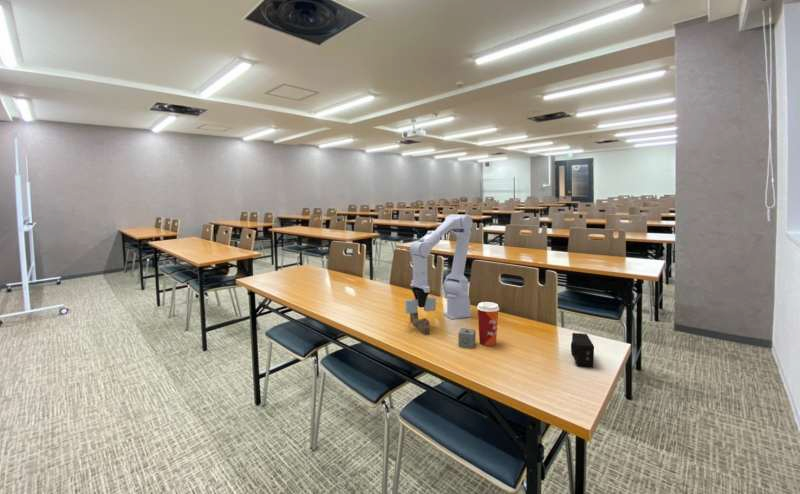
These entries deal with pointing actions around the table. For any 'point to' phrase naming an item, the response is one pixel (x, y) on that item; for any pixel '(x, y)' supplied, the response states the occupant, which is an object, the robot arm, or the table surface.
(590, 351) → the digital camera
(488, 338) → the paper cup
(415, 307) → the pale blue-gray block
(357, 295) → the table surface
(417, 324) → the walnut u-shaped block
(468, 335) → the gray cube with hole
